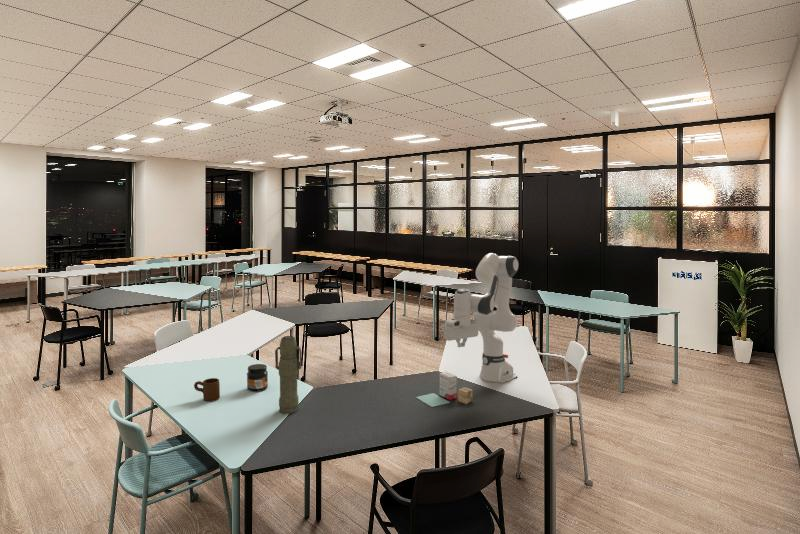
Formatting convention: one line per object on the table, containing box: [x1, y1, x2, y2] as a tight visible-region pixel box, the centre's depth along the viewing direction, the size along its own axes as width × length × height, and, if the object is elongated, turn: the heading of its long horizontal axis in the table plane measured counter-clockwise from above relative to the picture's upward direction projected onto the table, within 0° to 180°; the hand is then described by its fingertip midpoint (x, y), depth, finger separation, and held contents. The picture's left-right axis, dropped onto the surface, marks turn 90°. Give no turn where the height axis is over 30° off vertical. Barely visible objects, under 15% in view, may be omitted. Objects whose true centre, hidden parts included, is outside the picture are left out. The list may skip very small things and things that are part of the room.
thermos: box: [274, 335, 302, 415], centre depth 213 cm, size 9×12×35 cm
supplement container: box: [246, 363, 269, 393], centre depth 241 cm, size 10×10×12 cm
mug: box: [193, 377, 221, 403], centre depth 226 cm, size 12×8×9 cm, turn 96°
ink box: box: [439, 371, 458, 401], centre depth 233 cm, size 9×5×12 cm, turn 34°
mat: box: [415, 392, 451, 408], centre depth 229 cm, size 11×14×1 cm
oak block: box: [457, 386, 473, 405], centre depth 228 cm, size 5×5×6 cm
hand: (461, 346), depth 235 cm, fingers closed
